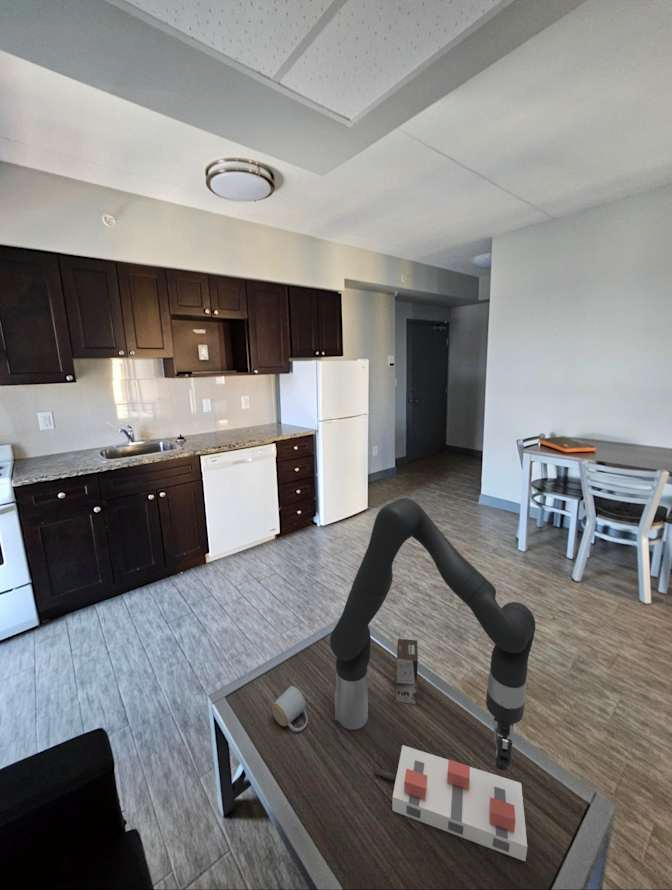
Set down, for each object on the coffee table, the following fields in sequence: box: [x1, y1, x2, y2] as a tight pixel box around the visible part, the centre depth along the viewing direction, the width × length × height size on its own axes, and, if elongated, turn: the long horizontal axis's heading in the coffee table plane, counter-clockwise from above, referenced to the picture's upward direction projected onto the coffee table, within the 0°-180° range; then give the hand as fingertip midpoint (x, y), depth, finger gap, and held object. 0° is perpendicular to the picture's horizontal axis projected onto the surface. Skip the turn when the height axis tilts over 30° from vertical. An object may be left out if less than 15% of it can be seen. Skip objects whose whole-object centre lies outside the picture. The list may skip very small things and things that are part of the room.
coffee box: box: [396, 638, 419, 705], centre depth 123 cm, size 9×6×16 cm
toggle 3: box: [489, 797, 515, 832], centre depth 85 cm, size 5×3×4 cm, turn 70°
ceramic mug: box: [271, 685, 309, 733], centre depth 115 cm, size 11×8×8 cm
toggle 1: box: [404, 769, 427, 800], centre depth 92 cm, size 5×3×4 cm, turn 70°
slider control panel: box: [373, 744, 528, 862], centre depth 94 cm, size 35×13×5 cm, turn 70°
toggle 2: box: [447, 759, 471, 790], centre depth 94 cm, size 5×3×4 cm, turn 70°
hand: (499, 749), depth 87 cm, fingers open, 8 cm apart
